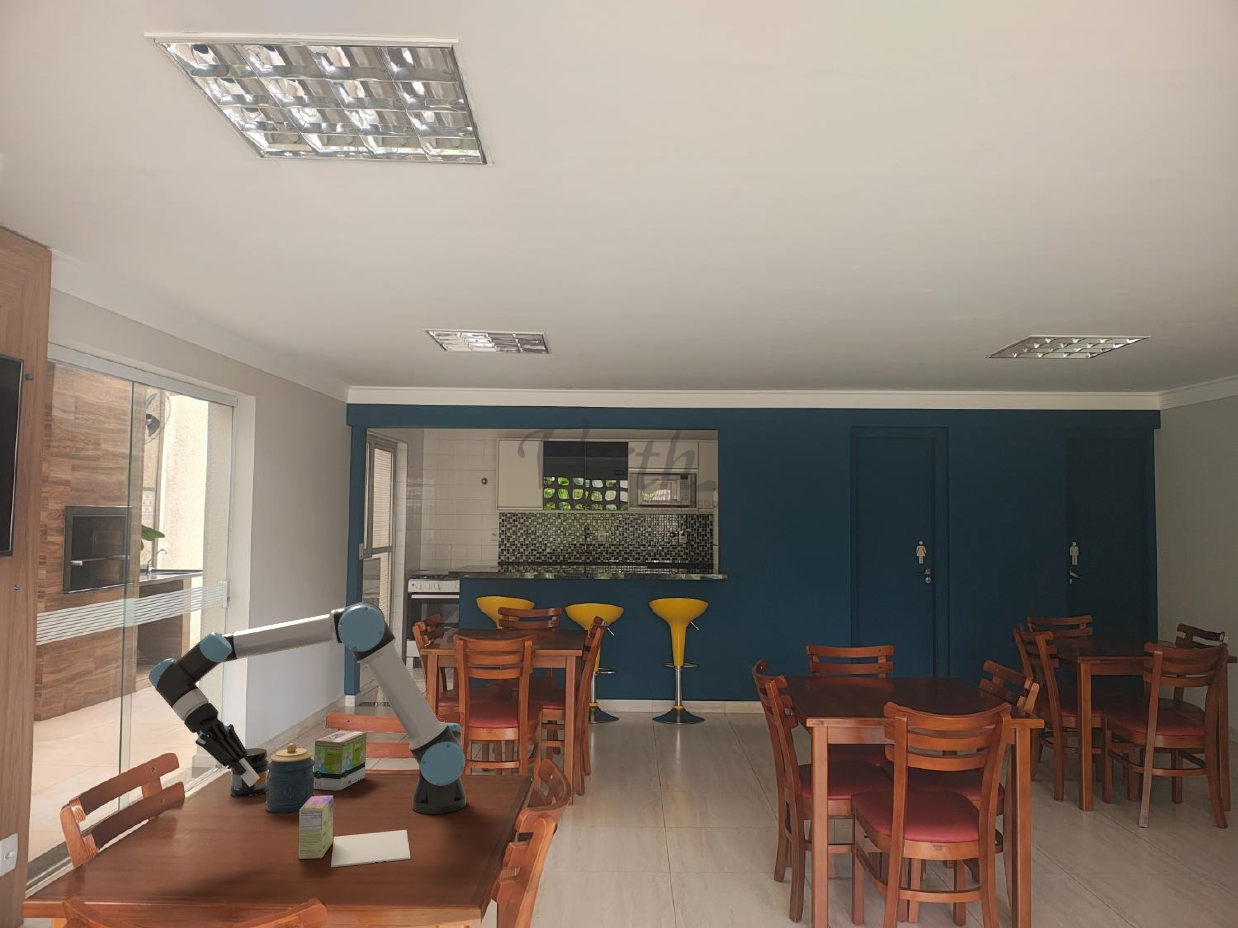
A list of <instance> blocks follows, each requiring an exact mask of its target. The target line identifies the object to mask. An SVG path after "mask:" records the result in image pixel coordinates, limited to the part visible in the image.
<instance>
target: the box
mask: <svg viewBox="0 0 1238 928" xmlns="http://www.w3.org/2000/svg"><path fill="white" fill-rule="evenodd" d="M298 812H299V814H298V815H299V819H298V821H299V824H298V825H299V827H298V828H299V833H298V837H299V838H298V860H309V859H312V860H313V859H323V857H324V856H325V854H326V853H327V851H328V850H329V849H330V847H331V846H333V842H334V836H333V834H334V795H314V796H312V797H311V798H310V799H309V800H308V801H307V802H306V803H305V804H304V805H303V806H302V807H301V808H300V810H299V811H298Z"/></svg>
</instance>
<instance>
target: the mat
mask: <svg viewBox="0 0 1238 928" xmlns="http://www.w3.org/2000/svg"><path fill="white" fill-rule="evenodd" d="M410 851H411V850H410V845H409V837H408V831H407V829H401V830H391V831H390V830H389V831H381V832H370V833H361V834H360V833H359V834H350V835H340V836H333V843H332V853H331V862H330V864H331V865H330V867H331V868H340V867H349V866H357V865H358V866H359V865H367V864H375V862H378V863H384V862H383V861H386V862H394V861H402V860H403V861H404V860H405V861H406V860H411V852H410ZM386 862H385V863H386Z"/></svg>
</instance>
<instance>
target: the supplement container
mask: <svg viewBox="0 0 1238 928" xmlns="http://www.w3.org/2000/svg"><path fill="white" fill-rule="evenodd" d="M245 749H246V751H247V753H248V754H247V756H246V757H245V760H246V761H247V762H248V763H249V764H250V766H251V767H252V768H253V770H254V771H255V772H256V773H257V775H258V776H259V777H260V778H259V779H258V780H257V781H256V782H255V783H254V784H253V785H252V786H250V787H249V786H248V785H247V783H246V782H245V781H244V780H243V779H242V777H241V776H240V775H239V774H238V773H237V772H236V771H235V769H234V768H233V767H232V768H231V769H230V789H229V792H230V795H232V796H234V797H238V796H248V797H250V796H249V795H255V794H259V795H261V794H263V793H265V792H267V777H268V774H269V770H268V769H267V765H268V764H269V763H270V761H269V760H268V759H267V758H268V750H267V749H266V748H262V747H260V748H259V747H256V748H255V747H253V748H251V747H250V748H245ZM260 793H261V794H260ZM255 796H256V795H255Z"/></svg>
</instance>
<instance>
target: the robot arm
mask: <svg viewBox="0 0 1238 928" xmlns="http://www.w3.org/2000/svg"><path fill="white" fill-rule="evenodd" d="M330 642H334V643H335V644H338V645H339V644H343V645H344V646H345V647H346V648H347V649H348V650H349V651H350V654H352V656H353V657H354V659H355V661H356V663H358V664H363V665H365V666H366V668H367V669H368V672H369V673H370V674H371V676H372V678H373V679H374V681H375V682H376V684H377V686H378V687H379V689H380V691H381V693H382V694H383V696H384V697H385V699H386V702H387V703H388V704H389V705H390V708H391V709H392V711H393V712H394V714H395V716H396V718H397V719H398V721H399V722H400V724H401V726H402V727H403V729H404V731H405V732H406V734H407V736H408V738H409V739H410V742H409V747H408V749H409V750H410V752H411V754H412V755H413V757H414V759H415V760H416V762H417V764H418V765H419V766H418V768H419V769H418V772H419V773H418V781H417V784H416V788H415V790H414V794H413V797H412V803H411V804H412V805H411V807H412V808H411V809H412V810H413V811H415V812H417V813H421V814H425V815H426V814H427V815H428V814H430V815H434V814H435V815H440V814H446V813H447V814H448V813H453V812H456V811H460V810H462V809H463V808H464V807H466V805H467V795H466V792H465V788H464V784H463V781H462V778H461V775H462V773H463V771H464V769H465V765H466V755H465V751H464V750H463V746H462V732H463V731H462V727H461V724H460V723H456V722H444V721H440V720H438V718H437V716H436V714H435V713H434V711H433V709H432V707H431V706H430V705H429V703H428V701H427V700H426V697H425V696H424V694H423V692H422V691H421V689H420V687H419V686H418V685H417V683H416V681H415V679H414V677H413V675H411V673H410V671H409V669H408V667H407V666H406V664H405V663H404V661H403V659H402V658H401V656H400V654H399V652H398V651H397V650H396V648H395V643H396V636H395V635H394V633H393V631H392V629H391V628H390V627H389V625H388V623H387V621H386V618H385V613H384V612H383V611H382V609H381V608H380V607H379V606H378V605H376V604H375V603H373V602H369V601H360V602H356V603H354V604H352V605H348V606H346V607H340V608H336V609H332V611H330V613H329V614H323V615H318V616H314V617H307V618H302V619H297V620H293V621H292V620H291V621H287V622H281V623H275V624H271V625H265V626H259V627H254V628H249V629H244V630H238V631H234V632H228V633H224V634H223V633H219V632H216V631H212V632H209V634H207V635H206V636H204V637H203V638H202V639H200V641H199V642H197V643H196V644H195V645H194V646H193V647H192V648H190V650H188V651H187V652H186V653H185V654H184V655H182V657H179V659H177V660H176V659H175V658H167V659H164V660H162V661H160V663H157V664H155V666H153V668H152V669H151V670H150V671H149V673H148V679H149V682H150V683H151V684H152V685H153V687H154V689H155V691H156V692H157V693H158V694H159V695H160V696H161V697H162V699H164V701H165V702H166V703H167V704H168V705H169V707H170V708H171V709H172V710H173V711H174V712H175V715H176V716H178V718H179V719H180V720H181V721H183V723H184V725H185V727H186V728H187V729H188V730H189V731H190V733H192V734H197V736H198V737H197V739H196V740H195V742H194V743H195V745H197V746H200V747H201V748H203V749H204V750H205V751H206V752H207V753H208V754H209V755H211V756H212V757H213V759H215V761H216V762H218V763H220V764H221V765H222V767H224V768H226V767H227V769H228V770H231V768H232V767H233V768H234V769H235V771H236V772H237V773H238V774H239V775H240V776H241V777H242V779H243V780H244V781H245V782H246V783H247V785H248V786H249V787H250V786H252V785H253V784H254V783H255V782H256V781H257V780H258V779H259V778H260V777H259V776H258V775H257V773H256V772H255V771H254V770H253V768H252V767H251V766H250V764H249V763H248V762H247V761H246V760H245V757H246V756H247V754H248V753H247V751H246V749H247V748H245V747H246V746H244V744H243V743H242V740H241V739H240V737H239V736H238V734H237V733H236V731H235V726H234V724H232V723H230V724H229V725H225V724H224V722H223V721H221V720H220V719H219V717H218V716H219V711H218V709H217V708H216V707H215V705H213V703H212V702H210V700H209V698H208V697H207V696H206V694H205V693H204V692H203V691H202V690H201V689H200V687H198V685H197V683H198V682H199V681H201V680H202V679H203V678H204V677H205V676H207V675H208V674H209V673H210V672H211V671H212V670H213V669H214V668H216V667H218V666H219V665H221V664H223V663H227V662H232V661H236V660H240V659H241V660H242V659H246V658H250V657H252V658H253V657H258V656H262V655H267V654H272V653H278V652H283V651H288V650H292V649H298V648H303V647H309V646H315V645H320V644H325V643H330Z"/></svg>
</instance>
